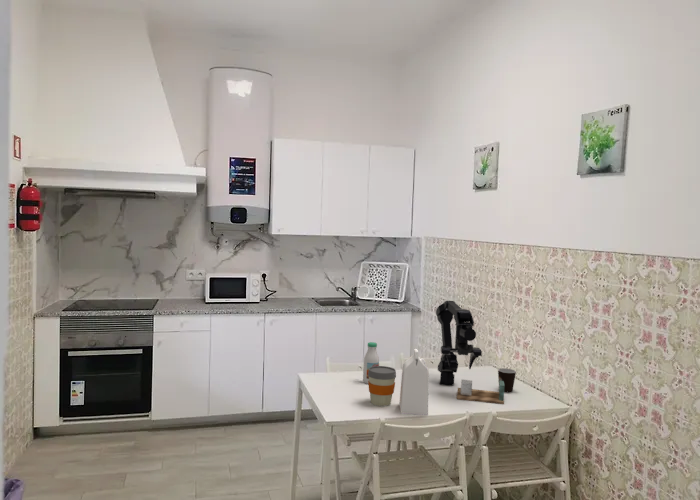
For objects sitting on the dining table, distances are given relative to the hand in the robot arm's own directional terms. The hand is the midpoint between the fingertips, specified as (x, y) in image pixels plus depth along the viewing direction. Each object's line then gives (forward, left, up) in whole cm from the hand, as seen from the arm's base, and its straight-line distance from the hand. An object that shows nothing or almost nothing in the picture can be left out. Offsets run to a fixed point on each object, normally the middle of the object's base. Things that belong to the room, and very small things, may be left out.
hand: (460, 368), depth 269 cm
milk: (-19, -29, -13) cm, 37 cm away
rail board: (+10, -2, -12) cm, 16 cm away
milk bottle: (-44, +4, -13) cm, 45 cm away
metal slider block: (+3, -2, -11) cm, 12 cm away
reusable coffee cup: (-34, -25, -13) cm, 44 cm away
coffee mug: (+22, +16, -13) cm, 30 cm away
